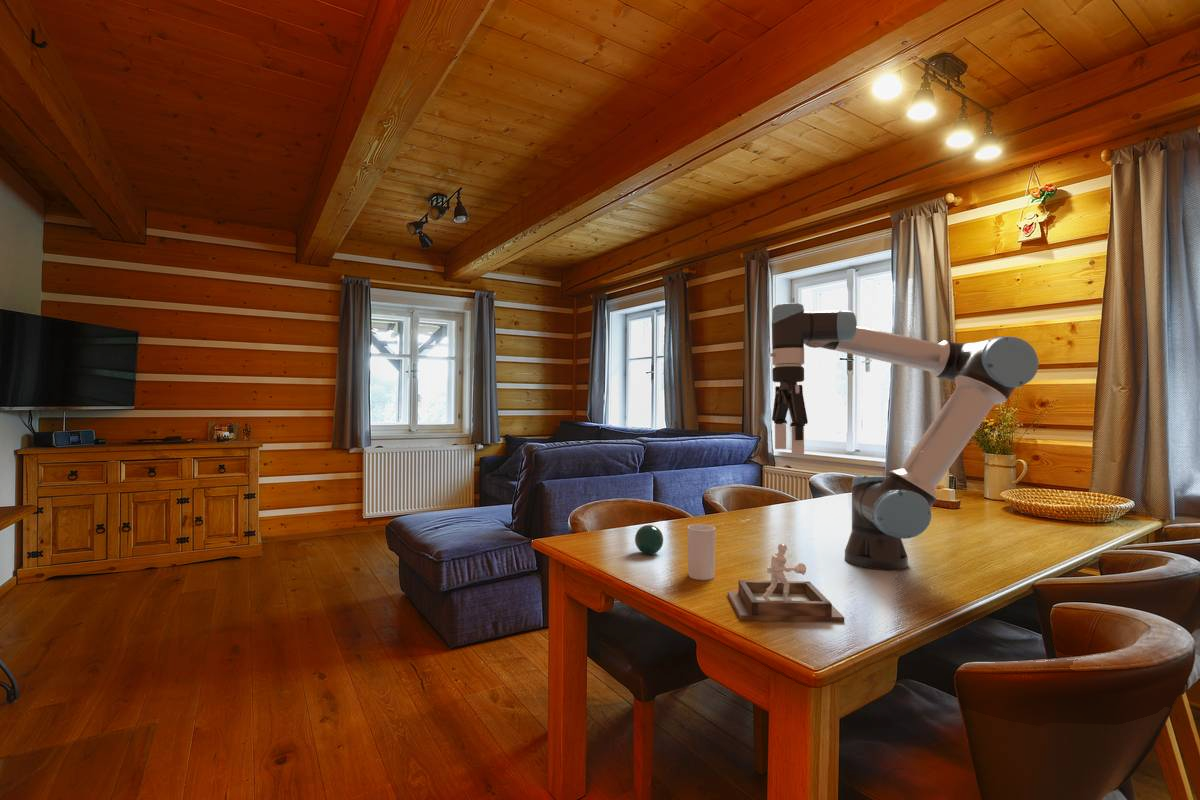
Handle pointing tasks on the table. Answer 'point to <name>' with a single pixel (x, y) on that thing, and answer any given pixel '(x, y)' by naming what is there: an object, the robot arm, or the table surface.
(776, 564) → the figurine
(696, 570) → the mug
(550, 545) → the table surface
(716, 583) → the table surface
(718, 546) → the table surface
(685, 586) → the table surface
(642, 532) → the sphere
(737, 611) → the brown picture frame
